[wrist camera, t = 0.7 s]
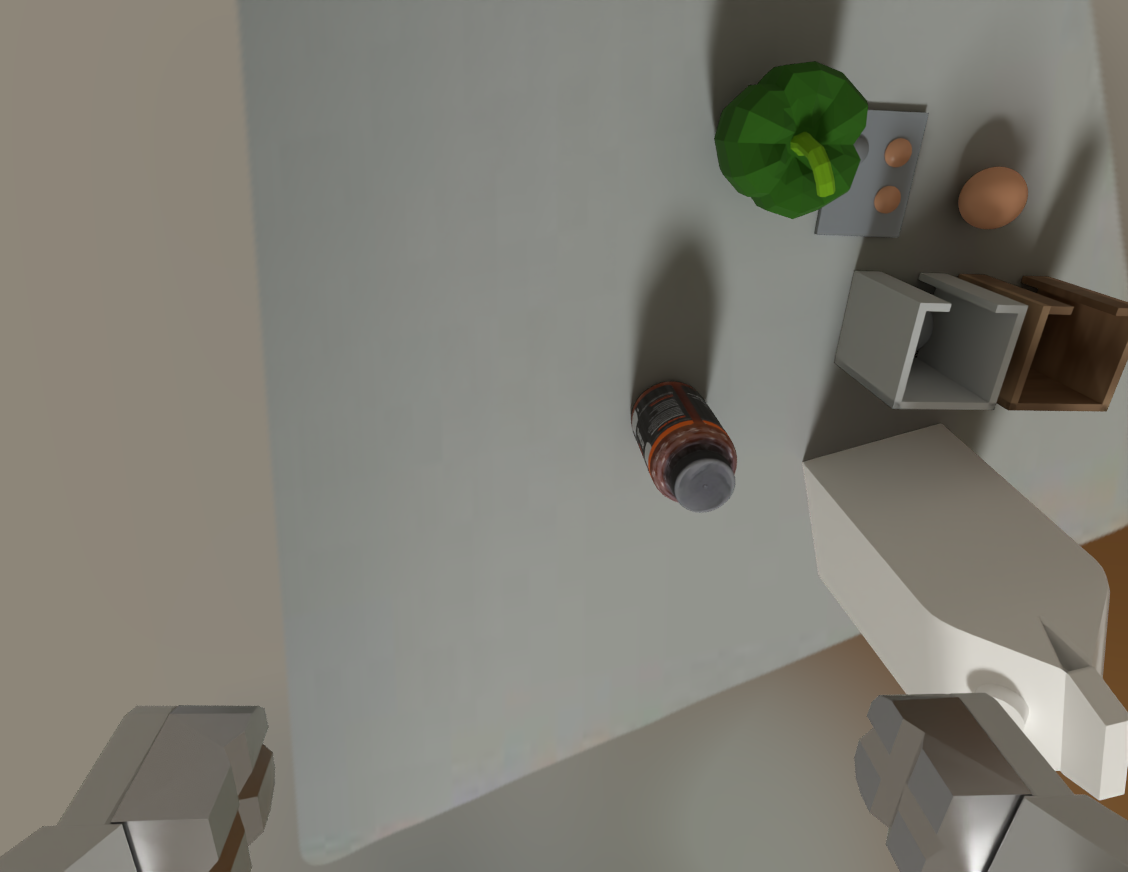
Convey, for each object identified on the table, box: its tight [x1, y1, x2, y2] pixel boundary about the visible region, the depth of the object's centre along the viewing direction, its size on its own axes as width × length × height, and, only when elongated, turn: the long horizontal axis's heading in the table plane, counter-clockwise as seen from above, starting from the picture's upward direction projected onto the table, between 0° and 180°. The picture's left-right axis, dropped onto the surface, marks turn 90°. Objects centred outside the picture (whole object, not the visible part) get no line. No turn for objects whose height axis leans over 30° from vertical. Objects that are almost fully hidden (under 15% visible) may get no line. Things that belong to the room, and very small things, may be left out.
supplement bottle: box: [631, 382, 737, 513], centre depth 50 cm, size 6×6×11 cm
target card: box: [815, 110, 929, 237], centre depth 48 cm, size 8×6×1 cm
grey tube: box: [834, 271, 1028, 410], centre depth 49 cm, size 7×7×9 cm
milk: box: [802, 423, 1128, 800], centre depth 48 cm, size 12×12×26 cm
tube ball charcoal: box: [916, 311, 934, 351], centre depth 51 cm, size 4×4×4 cm
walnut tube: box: [958, 274, 1128, 411], centre depth 49 cm, size 7×7×9 cm
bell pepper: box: [714, 61, 868, 219], centre depth 42 cm, size 8×8×10 cm
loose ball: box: [958, 167, 1028, 229], centre depth 48 cm, size 4×4×4 cm
